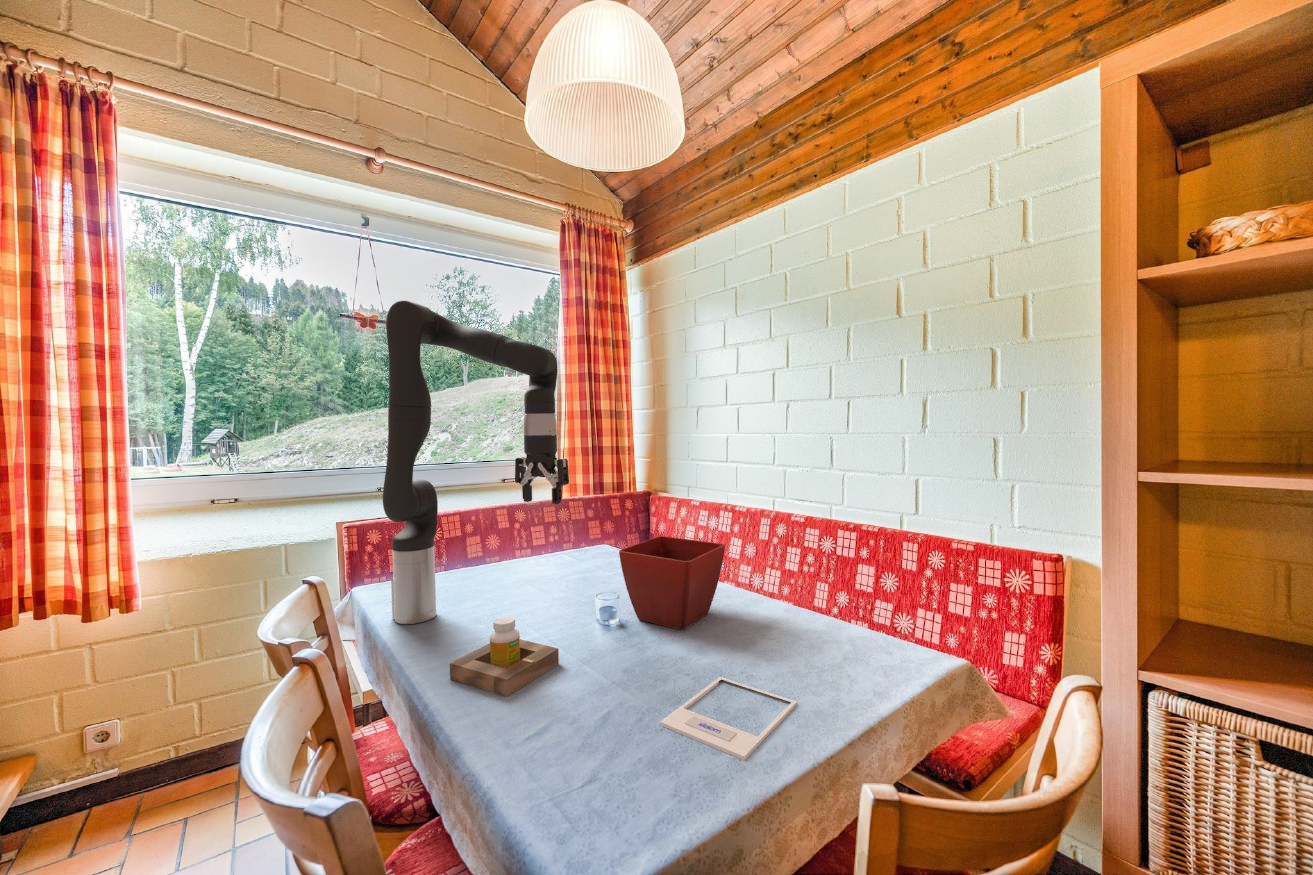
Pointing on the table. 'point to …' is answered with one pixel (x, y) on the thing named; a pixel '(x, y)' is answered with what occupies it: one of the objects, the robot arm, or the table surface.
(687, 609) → the plant pot
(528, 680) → the socket block
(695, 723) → the photo frame
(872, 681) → the table surface
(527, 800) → the table surface
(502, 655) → the supplement bottle
